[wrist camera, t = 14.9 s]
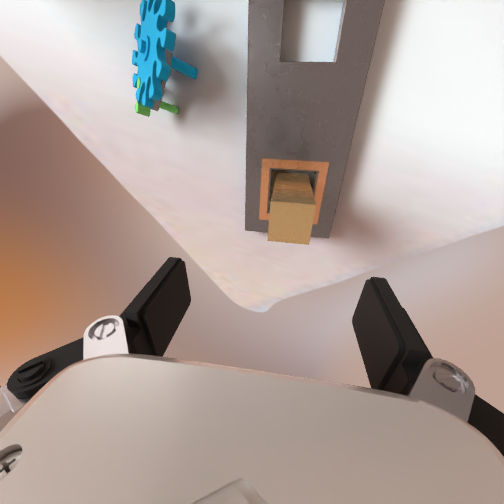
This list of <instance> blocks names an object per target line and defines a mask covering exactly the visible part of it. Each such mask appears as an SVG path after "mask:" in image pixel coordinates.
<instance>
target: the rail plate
mask: <svg viewBox="0 0 504 504" xmlns="http://www.w3.org/2000/svg"><path fill="white" fill-rule="evenodd" d="M384 1H385V0H344V3H343V9H342V15H341V20H340V26H339V32H338V38H337V44H336V50H335V56H334V62H280V56H281V42H282V29H283V15H284V2H285V0H249V15H248V78H247V141H246V204H245V230H247V231H257V232H268V228H269V214H270V207H269V206H270V192H271V178H272V169H277V170H293V171H309V172H315V174H314V180H313V186H312V192H313V195H314V199H315V202H316V209H315V214H314V220H313V225H312V230H311V236H312V237H322V238H329V235H330V231H331V227H332V223H333V218H334V214H335V210H336V206H337V201H338V197H339V193H340V188H341V184H342V180H343V176H344V171H345V167H346V163H347V159H348V154H349V150H350V146H351V142H352V137H353V133H354V129H355V124H356V120H357V116H358V112H359V107H360V103H361V99H362V95H363V90H364V86H365V82H366V78H367V73H368V69H369V65H370V60H371V56H372V52H373V48H374V43H375V39H376V35H377V31H378V26H379V22H380V18H381V13H382V9H383V5H384Z"/></svg>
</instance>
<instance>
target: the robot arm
mask: <svg viewBox="0 0 504 504" xmlns="http://www.w3.org/2000/svg"><path fill="white" fill-rule="evenodd" d="M190 302H191V296H190V290H189V285H188V278H187V273H186V267H185V262H184V261H182V259H181V258H173V257H169V258H168V259H167V261H166V262H165V263H164V264H163V265H162V266H161V268H160V269H159V270H158V271H157V272H156V274H155V275H154V276H153V277H152V278H151V280H150V281H149V282H148V283H147V284H146V285H145V286H144V288H143V289H142V290H141V291H140V292H139V294H138V295H137V296H136V297H135V298H134V300H133V301H132V302H131V303H130V304H129V305H128V307H127V308H126V309H125V310H124V311H123V313H122V314H121V315H120V316H119V317H118V316H106V317H102V318H100V319H98V320H96V321H95V322H93V323H92V324H91V325H90V326H88V327H87V329H86V331H85V333H84V337H83V338H81V339H79V340H76V341H74V342H71V343H69V344H67V345H64V346H62V347H60V348H57V349H55V350H53V351H50V352H48V353H46V354H43V355H40V356H38V357H36V358H33V359H32V360H29V361H28V362H26V363H24V364H23V365H21V366H20V367H19V368H18V369H17V370H16V371H14V372H13V374H12V375H11V376H10V378H9V380H8V383H7V384H5V385H4V386H2V387H1V386H0V504H504V414H503V413H502V412H500V411H499V410H497V409H496V408H495V407H493V406H492V405H490V404H489V403H487V402H486V401H484V400H483V399H481V398H480V397H478V396H477V395H475V387H474V384H473V382H472V381H471V379H470V378H469V377H468V375H467V374H466V373H464V372H463V371H462V370H461V369H460V368H458V367H457V366H455V365H454V364H452V363H450V362H448V361H445V360H442V359H437V358H433V357H432V355H431V353H430V352H429V350H428V348H427V347H426V345H425V343H424V341H423V340H422V338H421V336H420V334H419V333H418V331H417V329H416V328H415V326H414V324H413V323H412V321H411V319H410V317H409V316H408V314H407V312H406V311H405V309H404V308H402V306H401V305H400V303H399V301H398V300H397V298H396V296H395V294H394V292H393V291H392V289H391V287H390V285H389V284H388V282H387V280H386V279H385V278H378V277H371V278H370V280H366V282H365V285H364V288H363V290H362V293H361V296H360V299H359V301H358V304H357V307H356V310H355V313H354V315H353V319H352V323H353V327H354V331H355V334H356V338H357V341H358V344H359V348H360V351H361V355H362V358H363V361H364V365H365V368H366V372H367V375H368V378H369V382H370V385H371V388H372V389H371V388H366V387H360V386H354V385H348V384H342V383H335V382H329V381H323V380H316V379H310V378H303V377H297V376H291V375H284V374H277V373H270V372H264V371H258V370H251V369H244V368H238V367H231V366H224V365H217V364H210V363H204V362H197V361H190V360H183V359H175V358H168V357H162V356H163V355H164V353H165V351H166V349H167V347H168V345H169V343H170V341H171V339H172V337H173V336H174V334H175V332H176V330H177V328H178V326H179V324H180V322H181V320H182V318H183V316H184V315H185V313H186V311H187V309H188V307H189V305H190Z"/></svg>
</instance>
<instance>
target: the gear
mask: <svg viewBox="0 0 504 504" xmlns="http://www.w3.org/2000/svg"><path fill="white" fill-rule="evenodd" d="M140 15H141V25H139V24H137V25H136V28H135V33H134V36H135V39H136V40H137V43H138V52H137V51H135V50H134V51H133V57H132V64H133V65H135V66H138V74H135V73H134V75H133V87H135V88H138V89H137V91H136V99H137V103H136V106H135V111H136V113H139V114H142V115H145V116H148V117H149V116H150V109H153V110H156V111H158V110H159V107H160V108H162V109H165V110H168V111H170V112H173V113H176V114H177V113H178V107H176V106H173V105H171V104H168V103H166V102H163V101H161V100H162V96H163V92H164V88H165V84H166V82H167V80H168V78H169V75H170V72H171V69H170V67H171V68H173V69H175V70H177V71H179V72H181V73H183V74H185V75H187V76H189V77H191V78H193V79H196V77H197V74H198V71H197V69H196V68H194V67H192V66H190V65H189V64H187V63H185V62H183V61H181V60H179V59H177V58H176V57H174V56H172V53H171V52H173V49H174V45H175V39H176V34H175V33H173V32H171V31H170V30H168V29H166V25H167V22H168V21H170V22H173V20H174V18H175V3H174V2H173V1H172V0H142V2H141V5H140Z"/></svg>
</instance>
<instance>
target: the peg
mask: <svg viewBox="0 0 504 504" xmlns="http://www.w3.org/2000/svg"><path fill="white" fill-rule="evenodd" d="M315 209H316V202H315V199H314V195H313V192H312V188H311V185H310V181H309V178H308V174H293V173H277V176H276V180H275V184H274V189H273V193H272V197H271V201H270V214H269V228H268V241H276V242H286V243H297V244H307V245H309V241H310V236H311V230H312V225H313V220H314V214H315Z"/></svg>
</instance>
